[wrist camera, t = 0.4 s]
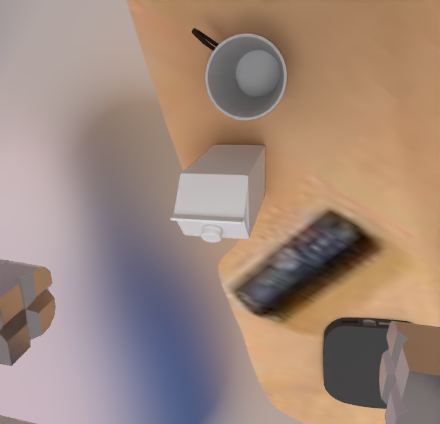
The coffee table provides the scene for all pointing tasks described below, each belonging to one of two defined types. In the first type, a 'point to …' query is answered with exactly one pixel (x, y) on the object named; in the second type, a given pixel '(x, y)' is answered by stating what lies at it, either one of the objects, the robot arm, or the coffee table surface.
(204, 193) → the milk carton
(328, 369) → the media streaming box
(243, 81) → the coffee mug
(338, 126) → the coffee table surface
